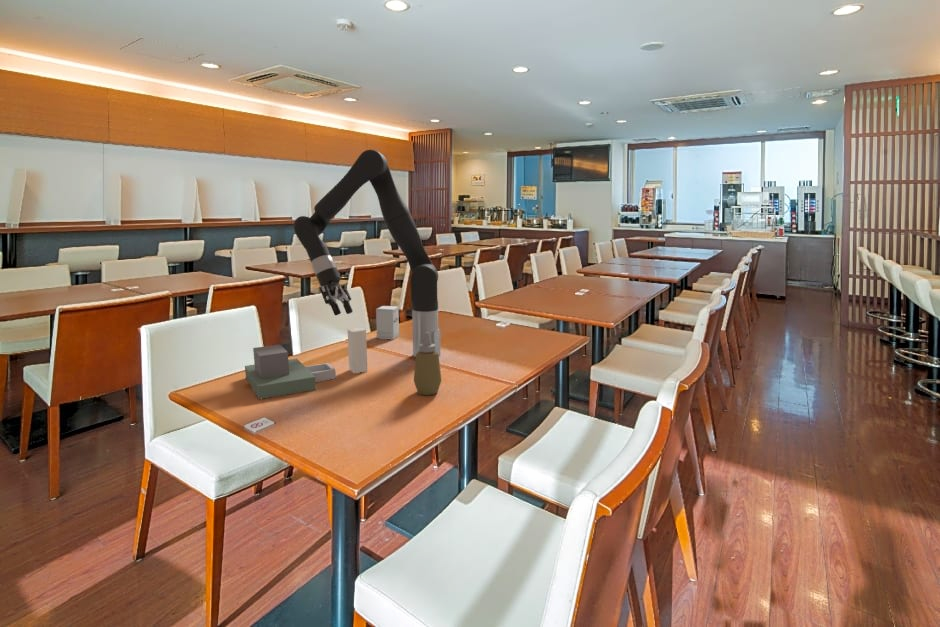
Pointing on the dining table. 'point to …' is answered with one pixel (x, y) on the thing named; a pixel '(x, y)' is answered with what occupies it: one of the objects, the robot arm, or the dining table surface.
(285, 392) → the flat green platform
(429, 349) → the squeeze bottle
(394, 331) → the supplement box
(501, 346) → the dining table surface
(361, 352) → the tall white pillar block
